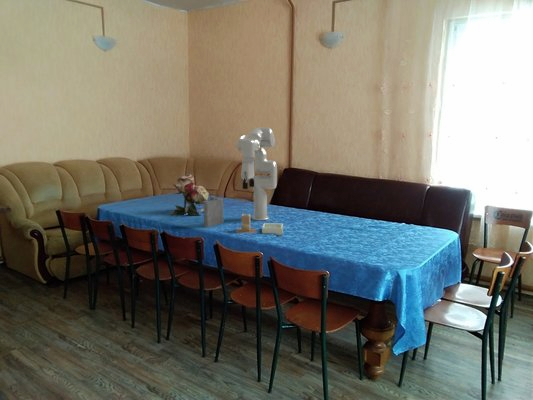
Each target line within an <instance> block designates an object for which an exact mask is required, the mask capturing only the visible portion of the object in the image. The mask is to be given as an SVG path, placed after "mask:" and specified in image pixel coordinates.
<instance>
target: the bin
mask: <svg viewBox="0 0 533 400" xmlns="http://www.w3.org/2000/svg"><path fill="white" fill-rule="evenodd" d="M261 232H262V234H276V236H277V237H282V236H283V234H284V233H283V232H284V223H280V222H279V223H275V222H271V223H270V222H269V223H267V222H265V223H263V225H262V227H261Z"/></svg>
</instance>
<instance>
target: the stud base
mask: <svg viewBox="0 0 533 400" xmlns="http://www.w3.org/2000/svg"><path fill="white" fill-rule="evenodd" d="M256 230H257V228H255V227H254V228H253V227H251V230H250V231H242V227H238V228H237V229H236V231H235V233H238V234H255V233H256V232H257V231H256ZM235 233H234V234H235Z"/></svg>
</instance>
